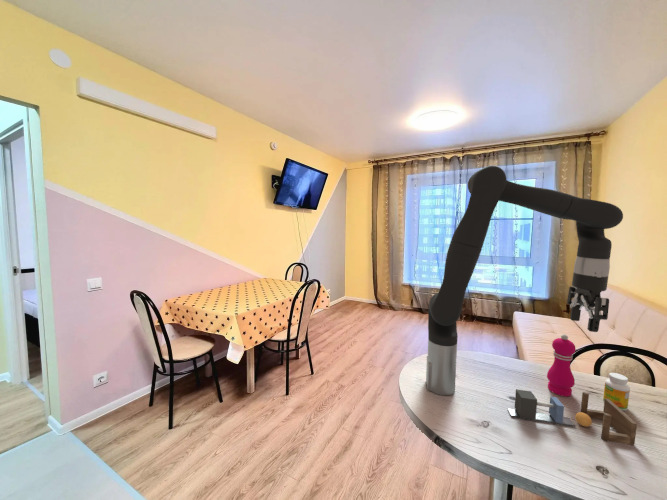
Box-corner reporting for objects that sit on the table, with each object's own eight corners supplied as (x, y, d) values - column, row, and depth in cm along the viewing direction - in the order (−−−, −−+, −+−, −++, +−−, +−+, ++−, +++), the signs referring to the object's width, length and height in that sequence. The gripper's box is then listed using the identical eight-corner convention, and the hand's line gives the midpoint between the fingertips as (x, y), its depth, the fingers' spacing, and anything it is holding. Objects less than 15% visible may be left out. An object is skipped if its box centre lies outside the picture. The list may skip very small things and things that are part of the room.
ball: (579, 428, 76) (580, 416, 76) (571, 419, 79) (572, 408, 79) (594, 430, 75) (595, 419, 75) (586, 421, 78) (587, 410, 78)
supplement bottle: (599, 402, 87) (602, 373, 86) (608, 397, 89) (611, 369, 88) (622, 413, 82) (626, 382, 81) (630, 408, 84) (634, 378, 83)
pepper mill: (578, 399, 88) (585, 340, 86) (553, 396, 90) (558, 338, 87) (564, 385, 95) (570, 331, 93) (541, 383, 97) (546, 329, 94)
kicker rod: (519, 416, 79) (521, 397, 79) (514, 407, 83) (515, 389, 82) (562, 423, 77) (564, 403, 76) (555, 413, 80) (556, 394, 80)
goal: (603, 440, 72) (606, 416, 71) (579, 413, 82) (581, 391, 81) (634, 445, 70) (638, 421, 69) (606, 417, 80) (608, 395, 79)
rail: (511, 417, 80) (511, 415, 80) (507, 410, 83) (507, 408, 83) (575, 427, 76) (575, 425, 76) (569, 419, 79) (569, 417, 79)
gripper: (562, 267, 87) (555, 316, 89) (591, 276, 74) (583, 333, 76) (589, 269, 86) (583, 318, 88) (625, 279, 72) (616, 337, 74)
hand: (583, 325), depth 82 cm, fingers open, 8 cm apart
